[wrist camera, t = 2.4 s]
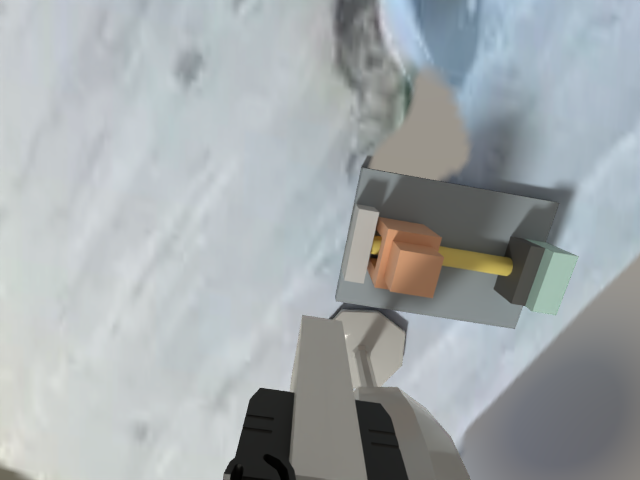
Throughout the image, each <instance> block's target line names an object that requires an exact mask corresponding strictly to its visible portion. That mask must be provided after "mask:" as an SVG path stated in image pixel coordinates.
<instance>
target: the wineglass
mask: <svg viewBox="0 0 640 480" xmlns="http://www.w3.org/2000/svg"><path fill="white" fill-rule="evenodd" d="M332 320H338V321H342V323H343V329H344V335H345V342H346V348H347V354H348V360H349V367H350V373H351V379H352V386H353V388H357V389H356V390H355V391H354V398H355V400H360V401H367V402H375V403H381V405H382V406H383V407H384V409H385V410H386V411H387V413H388V414H389V415H390V417H391V419H392V422H393V426H394V429H395V436H396V437H397V440H398V444H399V449H400V451H401V454H402V458H403V461H404V465H405V468H406V472H407V475H408V479H409V480H470V476H469V474H468V472H467V470H466V468H465V466H464V464H463V461H462V459H461V457H460V455H459V453H458V451H457V449H456V447H455V445H454V442H453V440H452V438H451V436H450V435H449V434H448V433H447V432H446V431H445V429H444V428H443V427H442V426H441V425H440V424H439V423H438V422H437V420H436V419H435V418H434V417H433V416H432V415H431V414H430V412H429V411H428V410H427V409H426V408H425V407H424V406H422V405H421V404H420V403H418V402H417V401H416V400H414V399H413V398H412V397H410V396H409V395H407V394H406V393H405V392H403V391H402V390H401V389H399V388H398V387H381V386H382V385H383V384H384V383H385V382H386V381H387V380H388V379H389V378H390V377H391V376H392V375H393V374H394V373H395V372H396V371H397V370H398V369H399V368H400V367H401V366H402V360H403V351H404V342H405V331H404V330H402V329H401V328H400V327H399V326H397V325H396V324H395V323H393V322H392V321H391V320H390V319H388V318H387V317H386V316H385V315H383V314H382V313H381V312H379V311H378V310H356V309H341V310H340V311H339V313H338V314H337V315H336V316H335V317H334V318H333V319H332Z"/></svg>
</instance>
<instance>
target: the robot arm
mask: <svg viewBox="0 0 640 480" xmlns="http://www.w3.org/2000/svg"><path fill="white" fill-rule="evenodd" d="M223 480H409V479H408V475H407V472H406V468H405V465H404V461H403V458H402V454H401V451H400V449H399V444H398V440H397V437H396V436H395V429H394V426H393V422H392V419H391V417H390V415H389V414H388V413H387V411H386V410H385V409H384V407H383V406H382V405H381V403H375V402H367V401H360V400H355V398H354V392H353V386H352V379H351V373H350V367H349V360H348V354H347V348H346V342H345V335H344V329H343V323H342V321H338V320H332V319H325V318H318V317H312V316H305V315H302V320H301V326H300V332H299V337H298V343H297V348H296V354H295V360H294V365H293V371H292V377H291V385H290V392H287V391H279V390H272V389H265V388H260V389H259V390H258V391H257V392H256V393H255V394H254V395H253V396H252V398H251V399H250V401H249V405H248V409H247V413H246V417H245V421H244V424H243V429H242V432H241V436H240V440H239V444H238V448H237V452H236V456H235V458H234V459H233V460H231V461H230V463H229V465H228V466H227V468H226V470H225V472H224V476H223Z"/></svg>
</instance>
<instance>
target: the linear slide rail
mask: <svg viewBox="0 0 640 480" xmlns="http://www.w3.org/2000/svg"><path fill="white" fill-rule="evenodd" d="M558 205H559V203H557V202H553V201H548V200H542V199H536V198H531V197H525V196H520V195H514V194H509V193H503V192H497V191H492V190H486V189H481V188H475V187H469V186H464V185H458V184H453V183H447V182H441V181H436V180H430V179H424V178H419V177H413V176H408V175H402V174H397V173H391V172H385V171H380V170H374V169H369V168H363V167H361V171H360V176H359V181H358V186H357V191H356V196H355V201H354V206H353V211H352V216H351V221H350V226H349V231H348V236H347V241H346V246H345V251H344V256H343V261H342V266H341V270H340V275H339V280H338V285H337V290H336V295H335V299H336V301H337V302H344V303H350V304H357V305H363V306H370V307H376V308H382V309H389V310H395V311H402V312H408V313H415V314H421V315H428V316H434V317H441V318H447V319H454V320H460V321H467V322H473V323H480V324H486V325H493V326H499V327H506V328H512V329H515V327H516V325H517V322H518V319H519V316H520V313H521V310H522V308H523V306H526V307H527V308H528V309H530V310H531V311H532V312H538V313H545V314H551V315H556V314H557V312H558V309H559V307H560V304H561V301H562V299H563V296H564V293H565V291H566V288H567V286H568V283H569V280H570V278H571V275H572V272H573V270H574V267H575V265H576V262H577V259H578V257H579V256H576V255H574V254H572V253H569V252H567V251H565V250H562V249H560V248H558V247H555V246H553V245H551V244H548V243H546V239H547V237H548V234H549V231H550V228H551V225H552V222H553V220H554V217H555V214H556V211H557V208H558ZM378 217H383V218H389V219H394V220H400V221H406V222H412V223H418V224H424V225H425V226H427V227H428V228H429V229H431V230H432V231H433V232H435V233H436V234H437V235H439V236H440V237H442V240H441V243H440V247H439V251H438V252H439V253H440V254H441V255H442V256H443V257H444V260H443V264H442V267H441V271H440V274H439V278H438V281H437V285H436V289H435V292H434V296H433V298H428V297H421V296H415V295H408V294H402V293H396V292H390V290H387V289H381V288H375V287H374V284H373V282H372V280H371V277H370V275H369V273H368V270H367V266H368V261H369V257H372V258H378V254H379V250H380V245H381V241H382V237H381V235H380V234H379V233H378V231H377V230H376V225H377V221H378Z"/></svg>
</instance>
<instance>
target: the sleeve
mask: <svg viewBox="0 0 640 480" xmlns="http://www.w3.org/2000/svg"><path fill="white" fill-rule="evenodd" d="M376 230H377V231H378V233H379V234H380V235H381V237H382V241H381V245H380V250H379V254H378V258H372V257H369V261H368V266H367V270H368V273H369V275H370V277H371V280H372V282H373V284H374V287H375V288H381V289H387V290H390V292H396V293H402V294H408V295H415V296H421V297H428V298H433V296H434V292H435V289H436V285H437V281H438V278H439V274H440V271H441V267H442V264H443V260H444V257H443V256H442V255H441V254H440V253H439V252H438V251H439V247H440V243H441V240H442V237H440V236H439V235H437V234H436V233H435V232H433V231H432V230H431V229H429V228H428V227H427V226H425V225H424V224H418V223H412V222H406V221H400V220H394V219H389V218H383V217H378V221H377V225H376Z"/></svg>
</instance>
